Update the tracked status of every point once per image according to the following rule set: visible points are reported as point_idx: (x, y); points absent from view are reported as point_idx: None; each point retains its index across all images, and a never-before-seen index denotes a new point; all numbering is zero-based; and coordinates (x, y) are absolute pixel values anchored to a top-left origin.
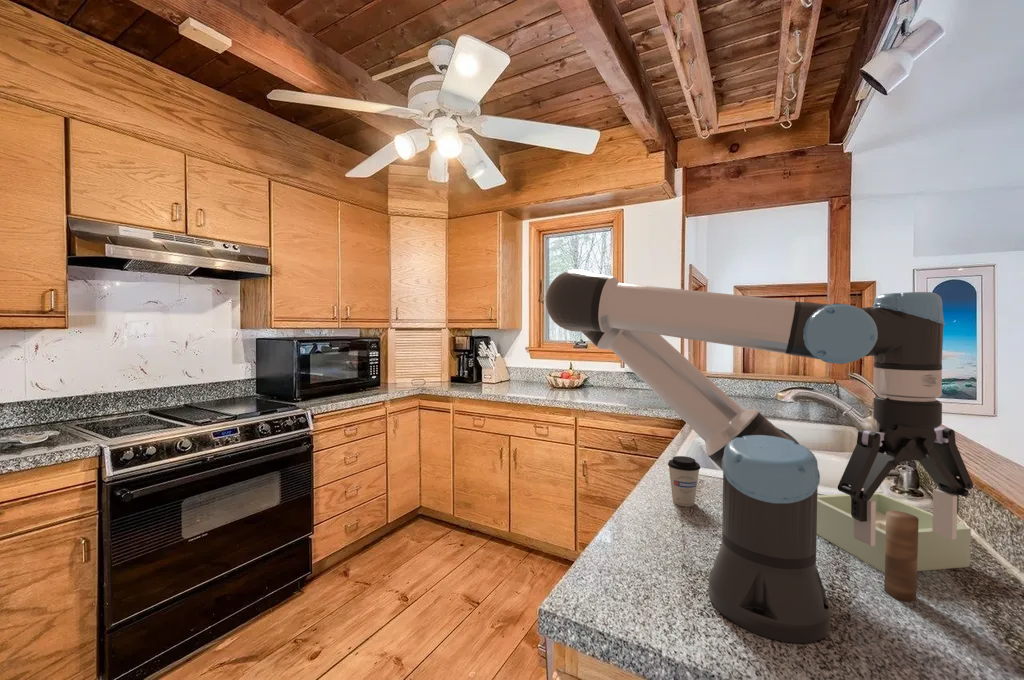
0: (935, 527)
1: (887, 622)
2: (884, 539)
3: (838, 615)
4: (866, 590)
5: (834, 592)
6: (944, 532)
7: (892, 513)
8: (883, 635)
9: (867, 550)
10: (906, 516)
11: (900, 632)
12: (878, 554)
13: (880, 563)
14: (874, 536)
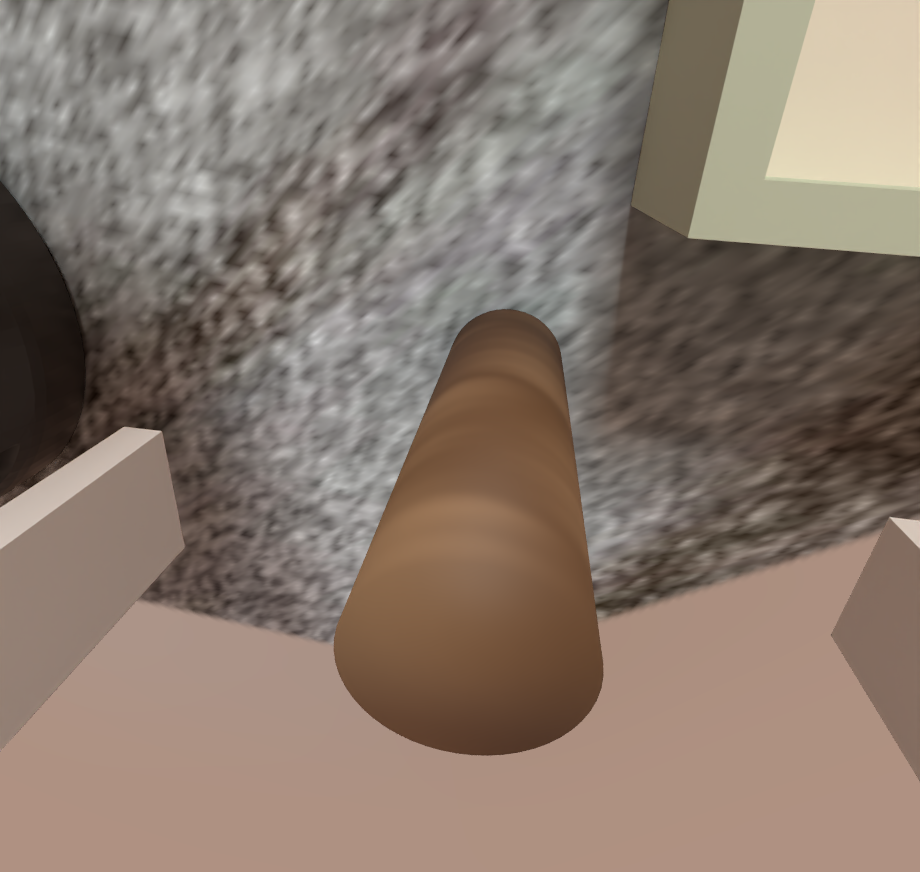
0: (901, 568)
1: (280, 474)
2: (678, 217)
3: (133, 408)
4: (380, 307)
5: (219, 287)
6: (867, 616)
7: (418, 613)
8: (213, 512)
9: (677, 58)
10: (485, 691)
11: (280, 515)
12: (657, 160)
13: (645, 175)
14: (138, 590)
